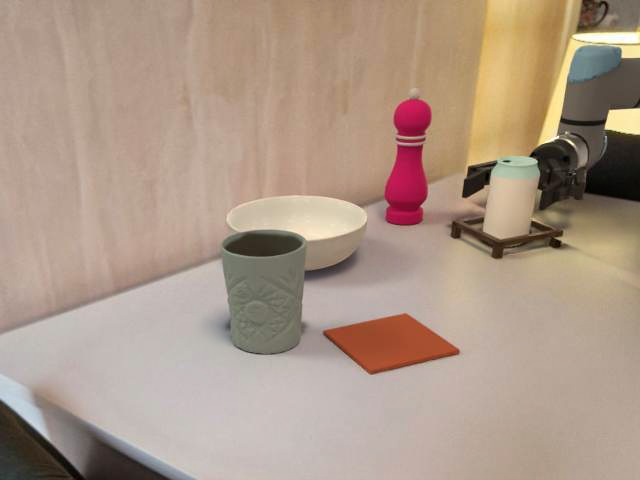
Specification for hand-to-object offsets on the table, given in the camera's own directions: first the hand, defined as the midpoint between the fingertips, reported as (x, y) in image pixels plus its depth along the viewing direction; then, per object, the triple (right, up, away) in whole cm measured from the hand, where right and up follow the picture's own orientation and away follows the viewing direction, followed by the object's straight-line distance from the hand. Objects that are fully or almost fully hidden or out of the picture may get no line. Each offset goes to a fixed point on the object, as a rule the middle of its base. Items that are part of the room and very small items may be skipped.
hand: (502, 194), depth 113 cm
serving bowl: (-31, -9, +3) cm, 32 cm away
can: (+3, -5, +7) cm, 9 cm away
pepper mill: (-11, +3, +18) cm, 21 cm away
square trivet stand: (+3, -4, +7) cm, 9 cm away
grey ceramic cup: (-36, -26, -18) cm, 48 cm away
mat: (-21, -27, -21) cm, 39 cm away
